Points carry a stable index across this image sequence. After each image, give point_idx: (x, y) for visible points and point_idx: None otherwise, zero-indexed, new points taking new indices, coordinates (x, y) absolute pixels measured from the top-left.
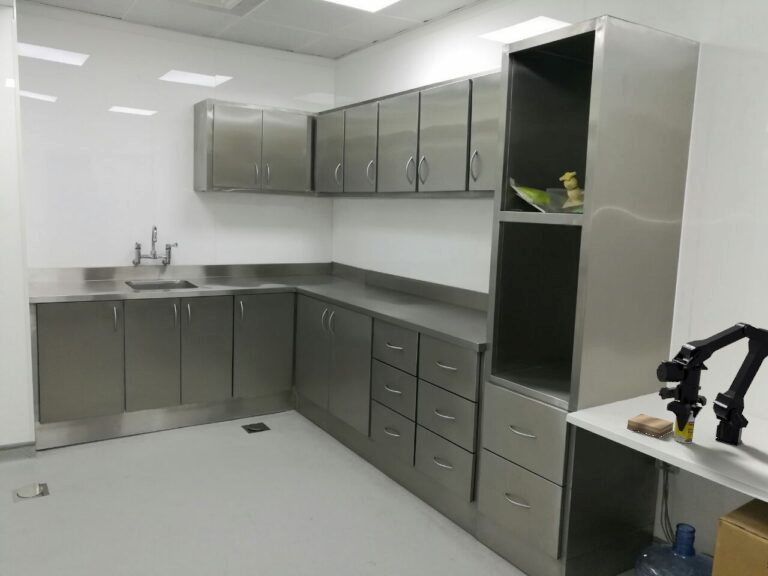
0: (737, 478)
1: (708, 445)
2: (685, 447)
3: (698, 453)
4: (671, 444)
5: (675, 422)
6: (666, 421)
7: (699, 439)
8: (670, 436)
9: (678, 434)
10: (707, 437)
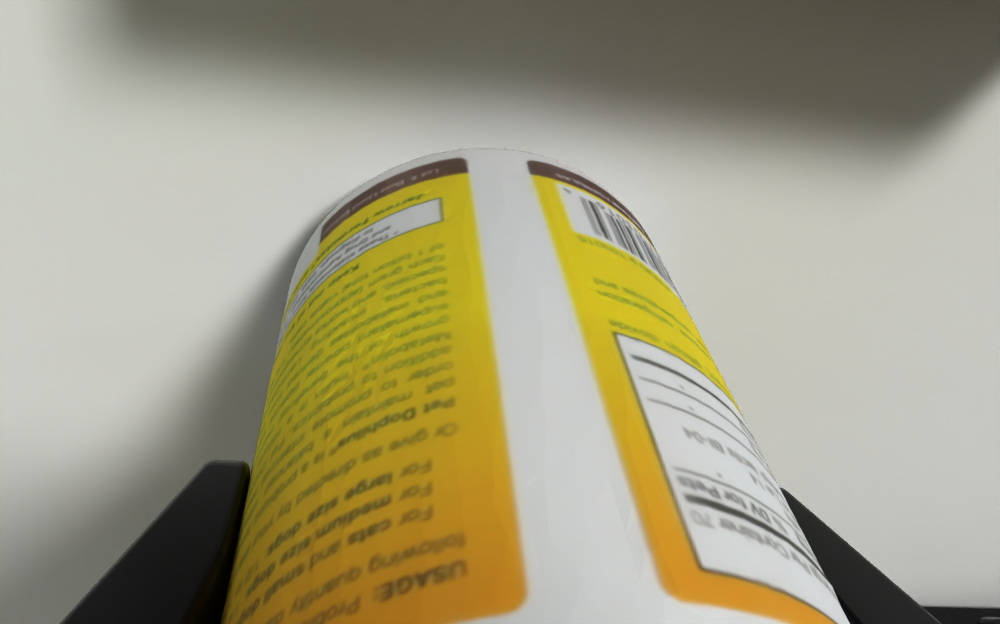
0: None
1: None
2: (119, 420)
3: (25, 599)
4: (8, 192)
5: (419, 441)
6: None
7: (803, 465)
8: (618, 29)
9: (276, 363)
10: (990, 513)
